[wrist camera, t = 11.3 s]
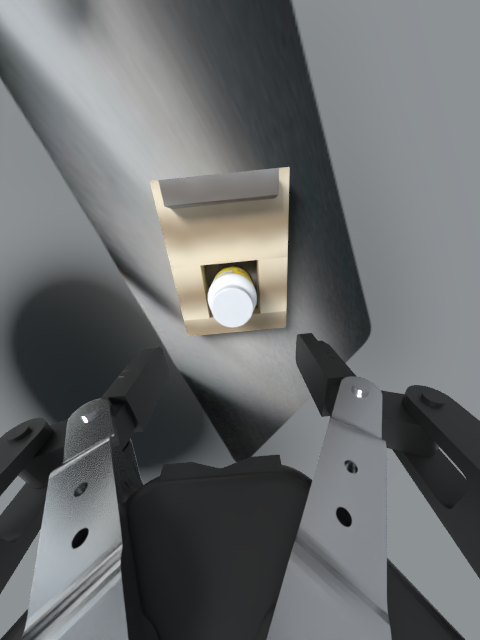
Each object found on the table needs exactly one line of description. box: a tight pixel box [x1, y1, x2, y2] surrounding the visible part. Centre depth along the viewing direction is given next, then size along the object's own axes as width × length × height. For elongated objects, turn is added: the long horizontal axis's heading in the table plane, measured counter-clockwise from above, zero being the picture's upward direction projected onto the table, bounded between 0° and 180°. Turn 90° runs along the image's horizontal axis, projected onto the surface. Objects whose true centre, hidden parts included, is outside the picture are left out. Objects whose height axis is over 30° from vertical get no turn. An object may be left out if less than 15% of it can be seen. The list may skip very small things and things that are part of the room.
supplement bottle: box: [208, 266, 257, 328], centre depth 21 cm, size 5×5×10 cm
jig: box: [150, 167, 290, 336], centre depth 22 cm, size 18×14×5 cm
